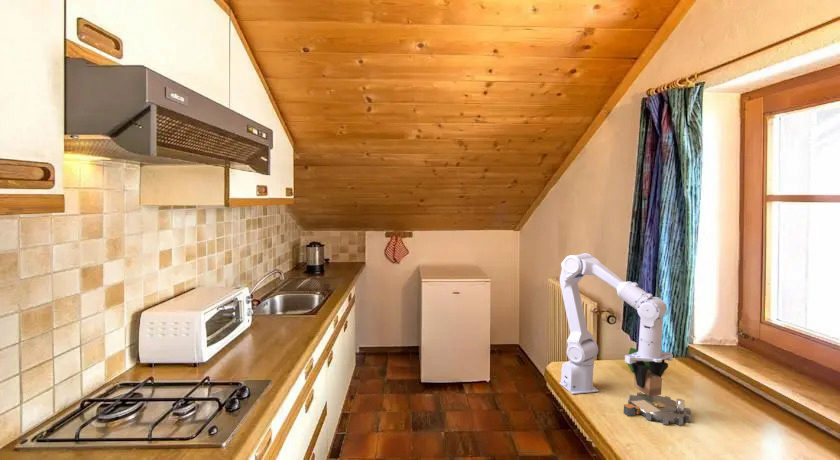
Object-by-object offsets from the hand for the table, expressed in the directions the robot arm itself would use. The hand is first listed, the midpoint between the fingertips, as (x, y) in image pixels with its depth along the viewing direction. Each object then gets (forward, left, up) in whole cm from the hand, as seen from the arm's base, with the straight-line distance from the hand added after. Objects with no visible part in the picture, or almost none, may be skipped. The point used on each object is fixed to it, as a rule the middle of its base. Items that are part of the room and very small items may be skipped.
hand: (647, 385), depth 124 cm
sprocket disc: (+4, 0, -8) cm, 9 cm away
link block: (0, 0, -2) cm, 2 cm away
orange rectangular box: (-5, 0, -8) cm, 10 cm away
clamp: (+22, +28, -9) cm, 37 cm away
